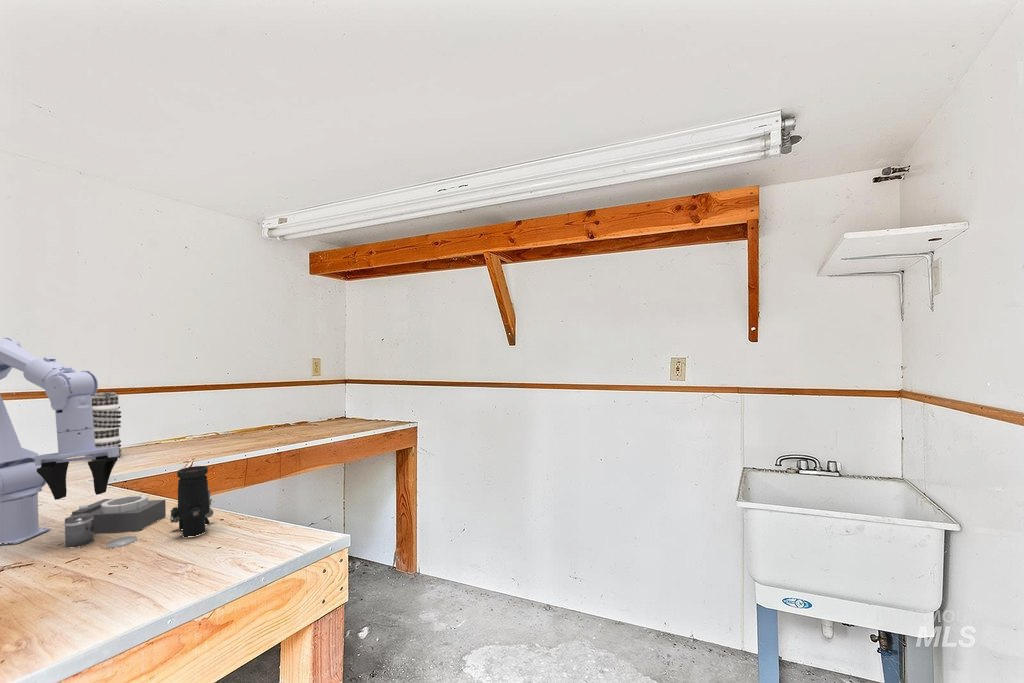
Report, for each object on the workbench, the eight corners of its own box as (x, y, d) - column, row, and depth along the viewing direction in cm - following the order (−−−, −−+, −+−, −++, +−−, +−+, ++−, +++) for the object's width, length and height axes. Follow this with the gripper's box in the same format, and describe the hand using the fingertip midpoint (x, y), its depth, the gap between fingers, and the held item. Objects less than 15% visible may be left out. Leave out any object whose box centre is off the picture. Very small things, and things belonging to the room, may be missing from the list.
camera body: (71, 534, 106) (70, 508, 106) (103, 519, 115) (103, 495, 115) (139, 531, 106) (138, 505, 107) (165, 516, 115) (165, 492, 116)
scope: (211, 460, 111) (218, 468, 104) (212, 521, 111) (219, 534, 103) (167, 467, 106) (171, 476, 98) (169, 531, 106) (173, 544, 98)
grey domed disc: (99, 550, 97) (99, 546, 97) (118, 540, 102) (118, 536, 102) (125, 549, 98) (125, 545, 98) (143, 539, 103) (143, 535, 103)
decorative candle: (87, 462, 177) (85, 393, 178) (119, 457, 184) (117, 390, 185) (92, 465, 172) (90, 394, 172) (125, 460, 179) (123, 391, 179)
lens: (58, 548, 98) (58, 521, 98) (77, 539, 103) (76, 513, 103) (82, 547, 98) (81, 520, 98) (99, 538, 103) (99, 512, 103)
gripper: (19, 437, 96) (24, 506, 96) (100, 428, 98) (105, 496, 98) (48, 431, 103) (53, 496, 103) (123, 423, 105) (128, 487, 105)
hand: (80, 495), depth 101 cm, fingers open, 7 cm apart
